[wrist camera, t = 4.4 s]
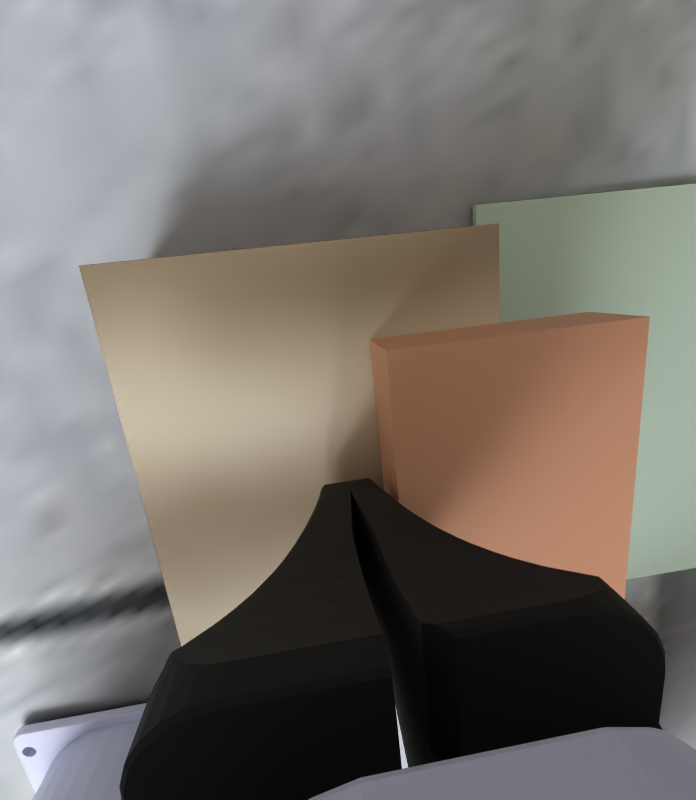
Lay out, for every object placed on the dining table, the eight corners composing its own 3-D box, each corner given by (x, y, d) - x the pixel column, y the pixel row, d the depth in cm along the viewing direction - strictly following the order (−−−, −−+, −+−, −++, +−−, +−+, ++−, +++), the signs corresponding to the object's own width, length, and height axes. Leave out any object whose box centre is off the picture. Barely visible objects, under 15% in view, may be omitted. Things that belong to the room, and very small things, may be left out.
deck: (458, 584, 18) (501, 666, 14) (223, 625, 17) (201, 722, 13) (444, 241, 14) (499, 222, 10) (143, 272, 13) (78, 265, 9)
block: (575, 589, 14) (621, 639, 12) (396, 623, 13) (414, 681, 11) (588, 311, 11) (650, 316, 9) (369, 339, 11) (386, 350, 9)
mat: (690, 563, 19) (696, 567, 19) (481, 600, 18) (483, 605, 18) (744, 180, 15) (753, 177, 14) (472, 206, 14) (476, 204, 14)
